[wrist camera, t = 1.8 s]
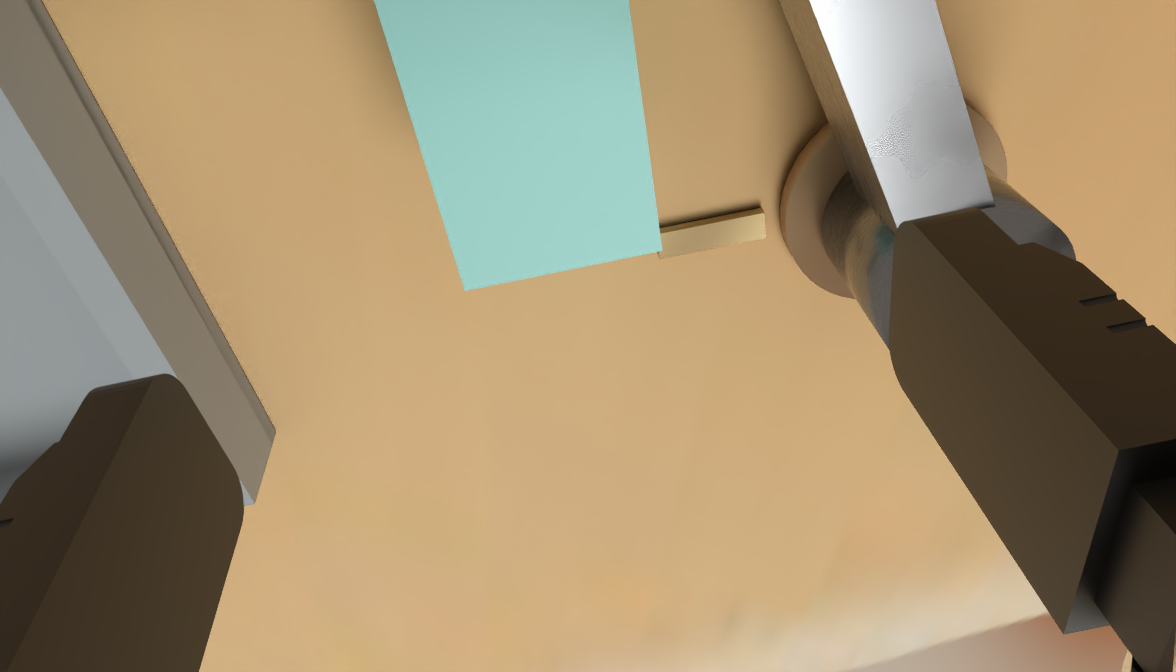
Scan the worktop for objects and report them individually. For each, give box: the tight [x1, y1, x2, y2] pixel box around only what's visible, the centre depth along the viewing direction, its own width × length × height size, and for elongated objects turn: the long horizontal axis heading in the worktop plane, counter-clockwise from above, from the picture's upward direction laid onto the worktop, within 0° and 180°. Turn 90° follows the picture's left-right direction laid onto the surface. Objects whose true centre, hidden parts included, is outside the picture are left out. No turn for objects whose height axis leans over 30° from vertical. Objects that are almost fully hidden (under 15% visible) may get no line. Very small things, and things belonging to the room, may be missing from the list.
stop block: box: [374, 0, 662, 291], centre depth 17 cm, size 4×6×6 cm, turn 10°
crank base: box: [658, 104, 1007, 299], centre depth 23 cm, size 10×6×1 cm, turn 100°
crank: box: [779, 0, 1076, 350], centre depth 17 cm, size 18×5×4 cm, turn 30°
